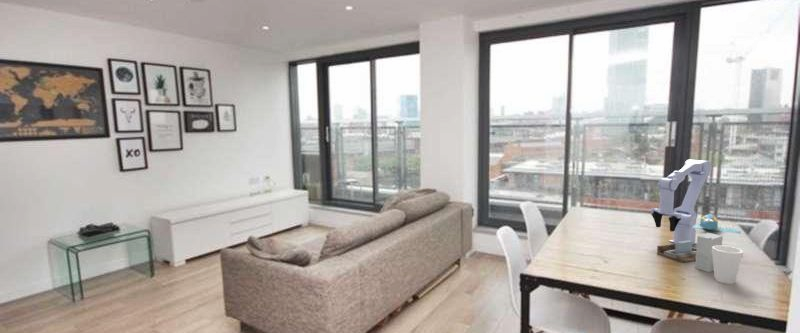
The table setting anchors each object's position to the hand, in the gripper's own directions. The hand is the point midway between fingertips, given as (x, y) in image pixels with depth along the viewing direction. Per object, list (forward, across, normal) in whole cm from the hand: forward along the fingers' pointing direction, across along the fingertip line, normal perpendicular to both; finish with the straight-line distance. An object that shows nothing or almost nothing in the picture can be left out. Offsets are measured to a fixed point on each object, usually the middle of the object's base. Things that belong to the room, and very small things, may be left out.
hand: (665, 229), depth 197 cm
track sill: (+9, +12, -2) cm, 15 cm away
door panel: (+9, +12, -3) cm, 15 cm away
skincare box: (+10, +27, -8) cm, 30 cm away
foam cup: (+10, +38, -14) cm, 42 cm away
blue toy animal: (+10, -14, +50) cm, 53 cm away
